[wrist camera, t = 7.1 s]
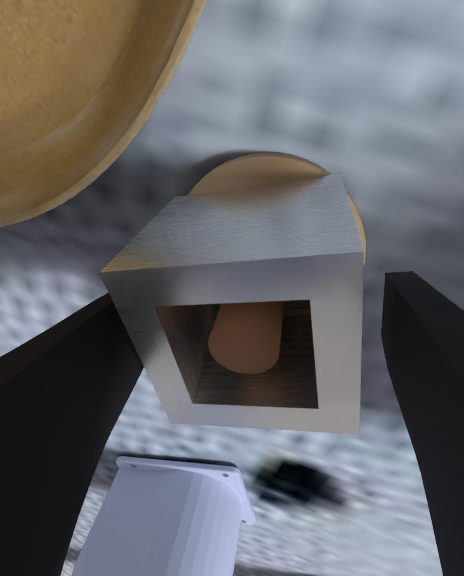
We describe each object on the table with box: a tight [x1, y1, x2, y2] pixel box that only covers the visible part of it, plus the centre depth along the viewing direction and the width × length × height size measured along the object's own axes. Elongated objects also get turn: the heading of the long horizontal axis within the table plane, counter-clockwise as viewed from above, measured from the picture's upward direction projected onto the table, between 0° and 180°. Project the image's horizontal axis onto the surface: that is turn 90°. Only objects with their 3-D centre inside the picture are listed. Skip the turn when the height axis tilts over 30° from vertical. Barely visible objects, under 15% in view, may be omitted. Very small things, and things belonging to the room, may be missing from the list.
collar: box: [99, 174, 364, 434], centre depth 10 cm, size 6×6×5 cm
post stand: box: [188, 152, 366, 374], centre depth 10 cm, size 7×7×6 cm
